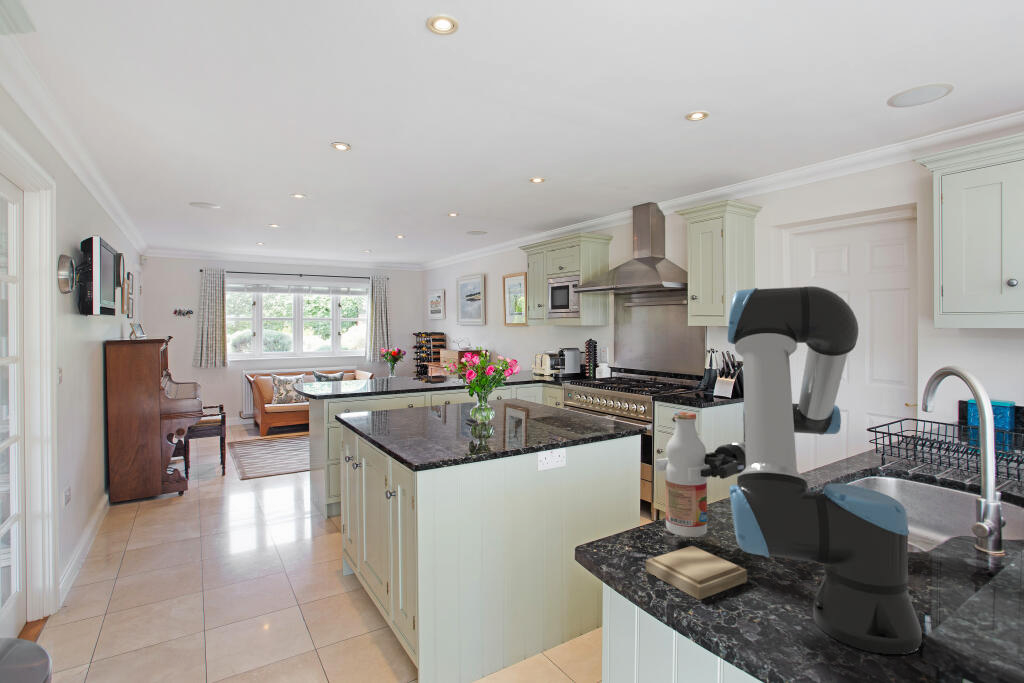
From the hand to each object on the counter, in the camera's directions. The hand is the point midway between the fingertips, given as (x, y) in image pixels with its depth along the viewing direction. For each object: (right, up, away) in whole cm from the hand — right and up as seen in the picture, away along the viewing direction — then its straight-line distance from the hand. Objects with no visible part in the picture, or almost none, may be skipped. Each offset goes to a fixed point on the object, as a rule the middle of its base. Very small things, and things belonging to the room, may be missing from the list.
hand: (672, 469), depth 123 cm
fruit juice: (+4, -15, +2) cm, 16 cm away
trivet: (0, -18, -15) cm, 24 cm away
